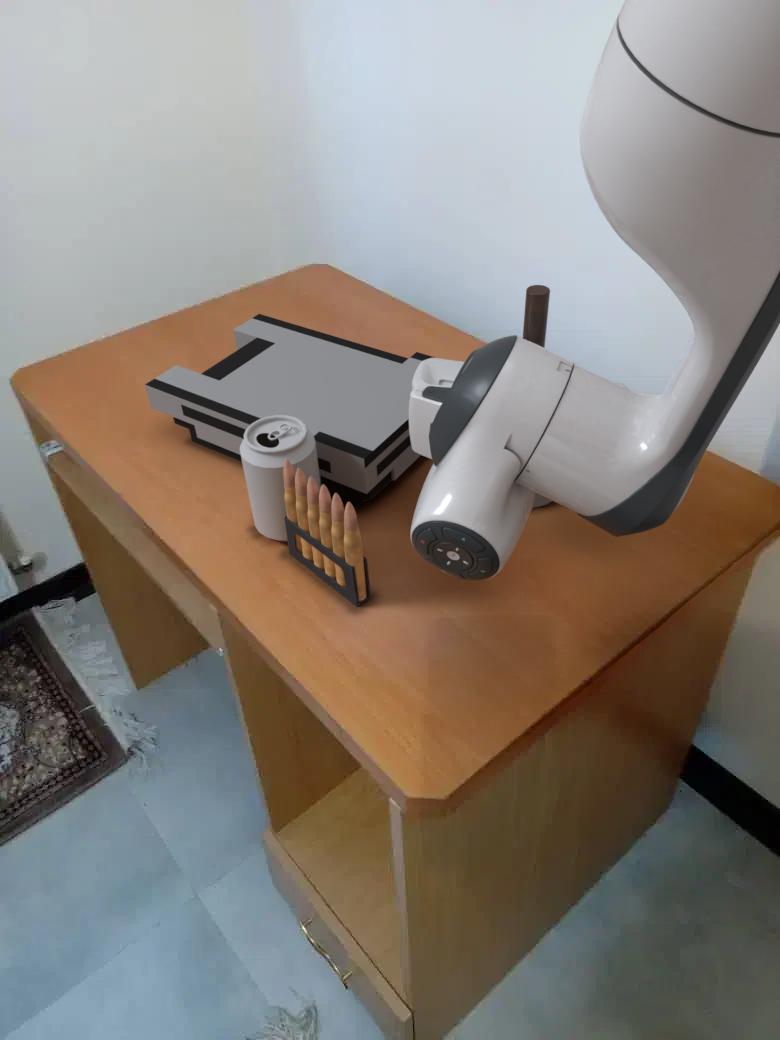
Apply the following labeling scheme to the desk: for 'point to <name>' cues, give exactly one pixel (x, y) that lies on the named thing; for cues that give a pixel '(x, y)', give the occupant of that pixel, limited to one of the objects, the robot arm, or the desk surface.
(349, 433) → the game console
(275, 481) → the can
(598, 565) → the desk surface
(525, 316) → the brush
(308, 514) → the ammunition clip
